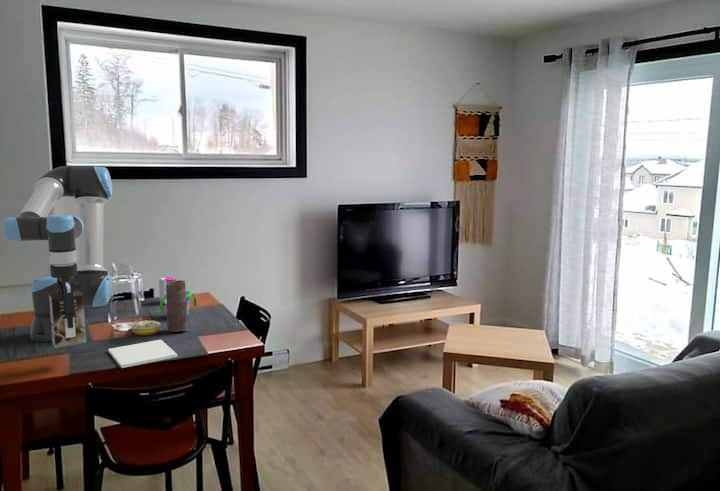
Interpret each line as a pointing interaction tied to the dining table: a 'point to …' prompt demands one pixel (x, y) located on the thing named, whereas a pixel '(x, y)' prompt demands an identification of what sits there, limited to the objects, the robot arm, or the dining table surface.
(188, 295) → the snack cup
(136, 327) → the decorated donut
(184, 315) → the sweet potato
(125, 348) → the pad
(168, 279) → the supplement box
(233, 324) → the dining table surface
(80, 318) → the coffee box
